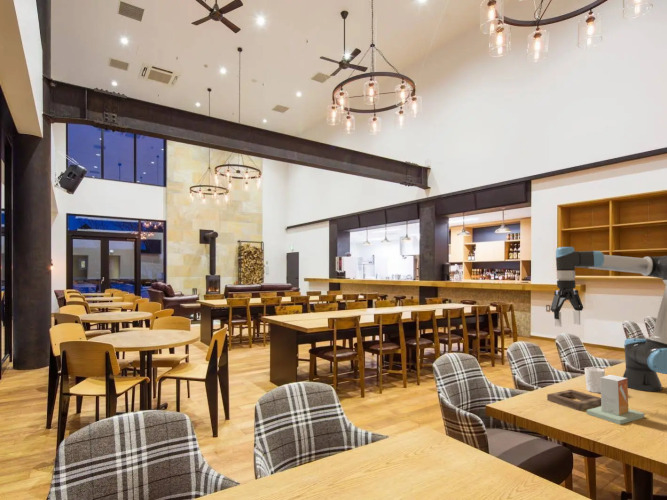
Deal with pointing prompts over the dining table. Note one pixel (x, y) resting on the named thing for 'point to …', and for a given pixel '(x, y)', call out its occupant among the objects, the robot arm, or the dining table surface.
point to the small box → (614, 394)
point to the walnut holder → (563, 396)
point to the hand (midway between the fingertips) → (567, 325)
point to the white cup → (593, 379)
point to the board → (617, 419)
